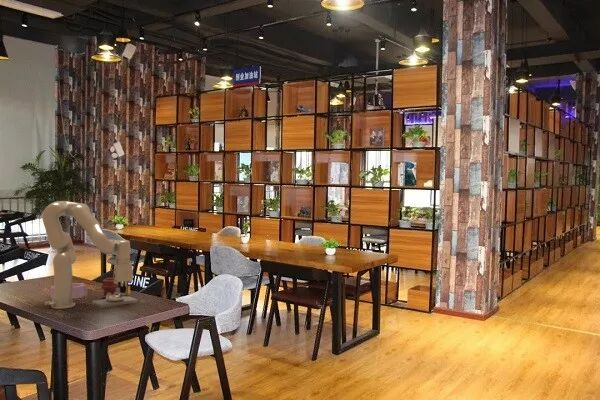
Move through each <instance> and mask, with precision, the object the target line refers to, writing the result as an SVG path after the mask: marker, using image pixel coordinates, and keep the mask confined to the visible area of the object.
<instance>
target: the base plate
mask: <svg viewBox="0 0 600 400" xmlns="http://www.w3.org/2000/svg"><path fill="white" fill-rule="evenodd" d="M133 303H134V304H135V303H138V299H137V298H134V297H131V296H129V297H126V296H124V300H123V301H120V302H107V301H106V298H104V299H98V300H92V301H91V304H92V305H94V306H97V307H99V309H100V308H101V309H102V308H110V307H117V306H124V305H129V304H133Z"/></svg>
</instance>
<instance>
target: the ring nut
mask: <svg viewBox="0 0 600 400" xmlns="http://www.w3.org/2000/svg"><path fill="white" fill-rule="evenodd" d="M130 295H131V285H127V286H126V291H125V293H121V292H119V293H118V291H116V292H114V293H112V294H111V293H110V292H109V293H107V294H106V297H105V299H106V301H107V302H120V301H123V300H124V296H126V297H131V296H130Z"/></svg>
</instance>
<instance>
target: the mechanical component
mask: <svg viewBox="0 0 600 400" xmlns="http://www.w3.org/2000/svg"><path fill="white" fill-rule="evenodd" d="M100 287H101V289H103V297H105V298H106V294H107V293H109V292H110V293H111V294H112V293H114V292H117V288H120V286H119V285H118V284H115V283H114V277H107V278H103V280H102V284H101V285H100Z"/></svg>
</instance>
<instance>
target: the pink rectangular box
mask: <svg viewBox="0 0 600 400" xmlns="http://www.w3.org/2000/svg"><path fill="white" fill-rule="evenodd" d="M87 296H88V284H85V282H82V283H81V282H80V283H79V282H77V283H76V282H75V283H74V282H73V299H80V298H83V297H87ZM50 299H51V300H53V299H54V285H53V286H50Z"/></svg>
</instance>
